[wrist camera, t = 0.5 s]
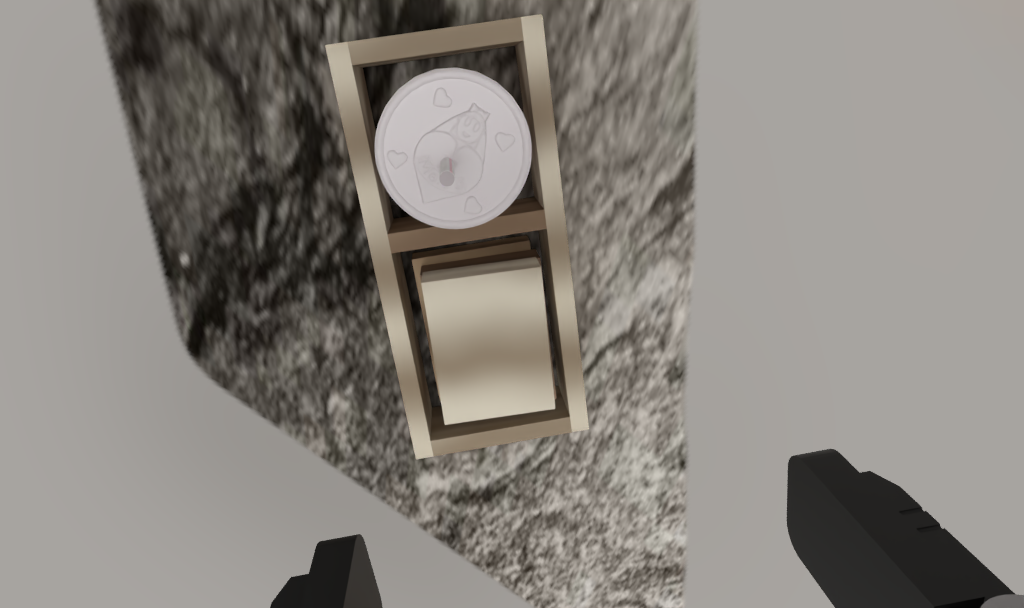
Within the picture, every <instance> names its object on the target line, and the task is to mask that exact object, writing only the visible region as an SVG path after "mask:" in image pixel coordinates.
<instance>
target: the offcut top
mask: <svg viewBox="0 0 1024 608" xmlns="http://www.w3.org/2000/svg"><path fill="white" fill-rule="evenodd" d="M421 285H422V291H423V297H424V303H425V309H426V315H427V321H428V327H429V333H430V339H431V345H432V351H433V357H434V363H435V369H436V375H437V381H438V387H439V393H440V399H441V405H442V411H443V417H444V423H445V425H448V424H455V423H462V422H469V421H476V420H482V419H489V418H496V417H503V416H510V415H516V414H523V413H530V412H537V411H544V410H551V409H555V399H554V389H553V380H552V370H551V360H550V350H549V340H548V330H547V320H546V310H545V300H544V290H543V280H542V270H541V266H540V264H539V262H538V260H537V258H536V257H531V258H524V259H516V260H509V261H501V262H494V263H486V264H479V265H471V266H464V267H456V268H449V269H441V270H434V271H427V272H423V273H422V281H421Z"/></svg>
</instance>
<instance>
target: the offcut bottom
mask: <svg viewBox="0 0 1024 608" xmlns="http://www.w3.org/2000/svg"><path fill="white" fill-rule="evenodd" d="M525 250H531V247H530V240H529V239H528V237H527V235H524V236H517V237H511V238H505V239H499V240H493V241H486V242H480V243H474V244H468V245H461V246H455V247H449V248H443V249H437V250H430V251H424V252H418V253H413V255H412V264H413V269H414V274H415V279H416V284H417V289H418V294H419V299H420V304H421V309H422V314H423V319H424V324H425V329H426V334H427V339H428V344H429V349H430V354H431V359H432V364H433V369H434V374H435V379H436V384H437V389H438V394H439V399H440V393H439V387H438V381H437V375H436V369H435V363H434V357H433V351H432V345H431V339H430V333H429V327H428V321H427V315H426V309H425V303H424V297H423V291H422V285H421V279H420V272H421V266H423V265H430V264H437V263H443V262H450V261H457V260H464V259H471V258H477V257H484V256H491V255H498V254H505V253H512V252H518V251H525ZM440 401H441V399H440Z"/></svg>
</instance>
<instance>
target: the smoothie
mask: <svg viewBox="0 0 1024 608" xmlns="http://www.w3.org/2000/svg"><path fill="white" fill-rule="evenodd" d="M531 157H532V144H531V136H530V132H529V128H528V125H527V122H526V119H525V117H524V114H523V112H522V111H521V109H520V107H519V106H518V104H517V103H516V101H515V100H514V98H513V97H512V95H511V94H510V93H508V92H507V91H506V90H505V89H504V88H503V87H502V86H501V85H500V84H499V83H497V82H496V81H495V80H493V79H491V78H489V77H487V76H485V75H483V74H481V73H479V72H477V71H472V70H467V69H462V68H457V67H454V68H441V69H434V70H431V71H428V72H426V73H423V74H420V75H418V76H415V77H414V78H412V79H411V80H410V81H408V82H407V83H406V84H404V85H403V86H402V87H400V88H399V89H398V90H397V91H396V93H395V94H394V95H393V96H392V98H391V99H390V100H389V102H388V103H387V104H386V106H385V108H384V110H383V113H382V115H381V117H380V120H379V122H378V125H377V130H376V136H375V159H376V165H377V169H378V172H379V175H380V178H381V180H382V183H383V185H384V186H385V188H386V190H387V192H388V193H389V195H390V196H391V197H392V199H393V200H394V201H395V202H396V203H397V204H398V205H399V206H400V207H401V208H402V209H403V210H404V211H405V212H407V213H408V214H409V215H411V216H412V217H414V218H415V219H417V220H419V221H421V222H423V223H426V224H428V225H431V226H435V227H439V228H445V229H465V228H471V227H475V226H478V225H481V224H484V223H486V222H488V221H490V220H492V219H494V218H495V217H497V216H498V215H500V214H501V213H502V212H504V211H505V210H506V209H507V208H508V207H509V206H510V205H511V204H512V203H513V202H514V200H515V199H516V198H517V196H518V195H519V193H520V192H521V190H522V188H523V186H524V184H525V182H526V179H527V176H528V174H529V169H530V165H531Z"/></svg>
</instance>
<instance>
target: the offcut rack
mask: <svg viewBox="0 0 1024 608" xmlns="http://www.w3.org/2000/svg"><path fill="white" fill-rule="evenodd" d="M509 46H515V49H516V57H517V65H518V73H519V81H520V89H521V96H522V104H523V112H524V117H525V119H526V122H527V125H528V128H529V132H530V136H531V144H532V157H531V165H530V167H531V175H532V183H533V191H534V197H530V198H523V199H517V200H514V202H513V203H512V204H511V205H510V206H509V207H508V208H507V209H506V210H505V211H504V212H502V213H501V214H500V215H498V216H497V217H495V218H494V219H492V220H490V221H488V222H486V223H484V224H481V225H478V226H475V227H471V228H465V229H445V228H439V227H435V226H431V225H428V224H426V223H423V222H421V221H419V220H417V219H415V218H414V217H412V216H408V217H402V218H395V219H394V218H393V214H392V209H391V204H390V199H389V194H388V192H387V190H386V188H385V186H384V185H383V183H382V180H381V178H380V175H379V172H378V169H377V165H376V159H375V136H376V130H375V125H374V120H373V115H372V110H371V106H370V101H369V96H368V91H367V86H366V81H365V76H364V71H363V68H365V67H372V66H379V65H385V64H392V63H399V62H406V61H413V60H420V59H427V58H434V57H441V56H447V55H454V54H461V53H468V52H475V51H482V50H489V49H496V48H503V47H509ZM325 47H326V51H327V56H328V61H329V65H330V70H331V74H332V79H333V83H334V88H335V92H336V97H337V101H338V106H339V111H340V115H341V120H342V124H343V129H344V133H345V138H346V142H347V147H348V152H349V156H350V161H351V165H352V170H353V174H354V179H355V183H356V188H357V193H358V197H359V202H360V206H361V211H362V215H363V220H364V224H365V229H366V233H367V238H368V243H369V247H370V252H371V256H372V261H373V265H374V270H375V274H376V279H377V284H378V288H379V293H380V297H381V302H382V306H383V311H384V315H385V320H386V325H387V329H388V334H389V338H390V343H391V347H392V352H393V356H394V361H395V365H396V370H397V375H398V379H399V384H400V388H401V393H402V397H403V402H404V406H405V411H406V416H407V420H408V425H409V429H410V434H411V438H412V443H413V447H414V452H415V456H416V459H421V458H427V457H432V456H438V455H444V454H450V453H455V452H461V451H467V450H473V449H478V448H484V447H490V446H496V445H501V444H507V443H513V442H519V441H524V440H530V439H536V438H542V437H547V436H553V435H559V434H565V433H570V432H576V431H582V430H588V429H589V425H588V416H587V407H586V398H585V390H584V381H583V372H582V363H581V354H580V345H579V336H578V327H577V318H576V310H575V301H574V292H573V283H572V274H571V265H570V256H569V247H568V238H567V229H566V221H565V212H564V203H563V194H562V185H561V176H560V167H559V158H558V149H557V141H556V132H555V123H554V114H553V105H552V96H551V87H550V78H549V69H548V60H547V52H546V43H545V34H544V25H543V16H542V14H539V15H532V16H525V17H518V18H511V19H504V20H497V21H490V22H483V23H476V24H469V25H462V26H455V27H448V28H441V29H434V30H427V31H420V32H413V33H406V34H399V35H392V36H385V37H378V38H371V39H364V40H357V41H350V42H343V43H336V44H329V45H325ZM536 230H539V238H540V246H541V253H542V261H543V269H544V277H545V285H546V293H547V300H548V308H549V316H550V324H551V332H552V340H553V348H554V355H555V363H556V371H557V379H558V386H555V390H556V399H555V409H551V410H544V411H537V412H530V413H523V414H516V415H510V416H503V417H496V418H489V419H482V420H476V421H469V422H462V423H455V424H448V425H445V423H444V417H443V411H442V406H438V407H432V405H431V400H430V395H429V390H428V385H427V381H426V376H425V371H424V366H423V361H422V356H421V351H420V346H419V341H418V336H417V331H416V327H415V322H414V317H413V312H412V307H411V302H410V297H409V292H408V287H407V282H406V277H405V273H404V268H403V263H402V258H401V253H400V252H404V251H410V250H416V249H423V248H429V247H435V246H442V245H448V244H454V243H461V242H467V241H473V240H479V239H486V238H492V237H498V236H505V235H511V234H517V233H524V232H530V231H536Z"/></svg>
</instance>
